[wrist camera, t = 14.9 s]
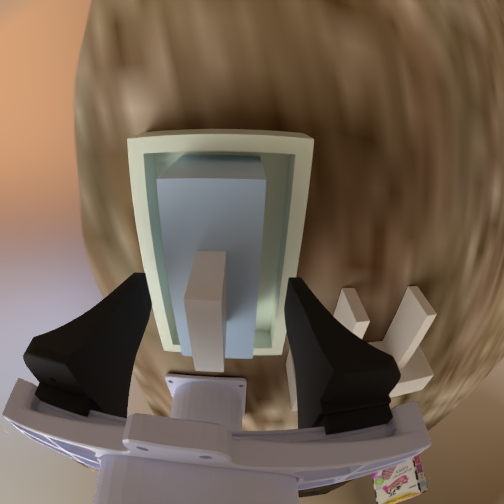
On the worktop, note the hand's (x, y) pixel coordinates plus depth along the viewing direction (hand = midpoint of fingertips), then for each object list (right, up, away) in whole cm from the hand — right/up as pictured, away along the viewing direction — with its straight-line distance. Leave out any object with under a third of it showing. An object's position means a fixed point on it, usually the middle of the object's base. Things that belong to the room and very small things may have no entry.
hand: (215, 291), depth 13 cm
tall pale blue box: (0, +3, +2) cm, 4 cm away
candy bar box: (+34, -42, +32) cm, 63 cm away
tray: (0, +2, +4) cm, 4 cm away
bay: (+12, -5, +8) cm, 15 cm away
